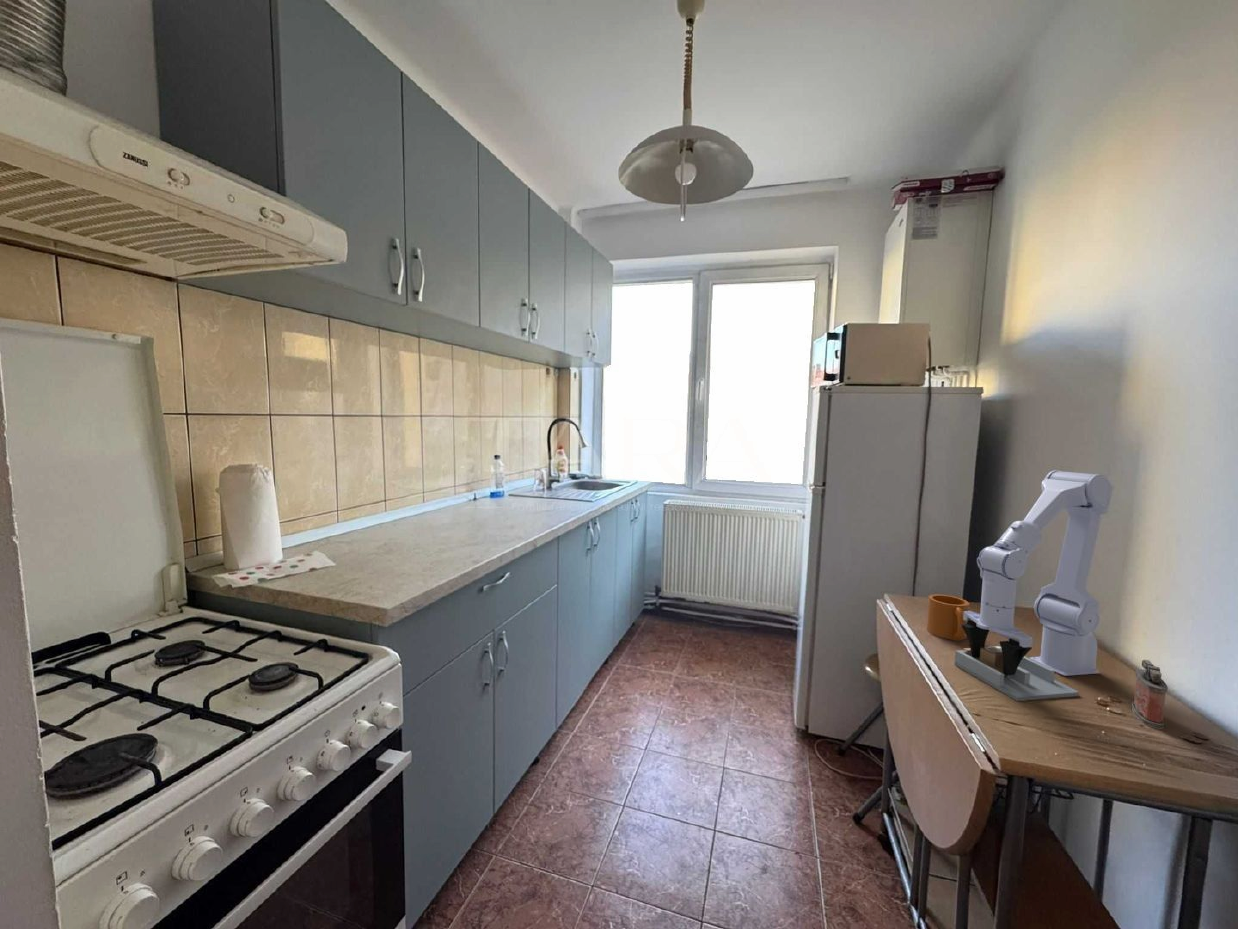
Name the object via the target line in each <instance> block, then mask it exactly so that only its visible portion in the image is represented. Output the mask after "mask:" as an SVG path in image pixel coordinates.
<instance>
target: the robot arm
mask: <svg viewBox="0 0 1238 929" xmlns="http://www.w3.org/2000/svg"><path fill="white" fill-rule="evenodd" d="M1040 488H1041V494H1040V496H1039V497H1038V499H1037V500H1036V502H1034V505H1033V506H1032V507H1031V509H1030V510H1029V511H1028V513H1027V515H1026V516H1025V517H1024V518H1023V520H1016V521H1013V522H1012V523H1011V524H1010V526H1009V527H1008V528H1007V529H1006V530H1005V531H1004V532H1003V534H1002V535H1001V536H1000V537H999V539H998V540H997V541H996V542H995V543H994V544H993V545H990V546H986V547H984V548H983V549H982V550H980V551H979V555H978V557H976V564H977V568H979V571H980V574H979V577H980V578H981V579H982V584H981V597H980V612H979V613H977V612H974V611H972V610H969V611H964V614H963V620H965V621H968V622H967V623H964V624H962V628H963V630H964V631H965V633H966V636H967V638H966V639H967V640H968V643H969V648H970V649H971V653H972V657H974V658H980V651H981V648H985V647H986V641H987V638H988V635H989V632H993V633H995V634H997V635H998V636H1000V637H1003V638H1006V639H1008V640H999V645H1000V646H999V647H1001V649H1002V653H1003V673H1004V674H1005V675H1015V672H1016V670H1017V668H1018V666H1019V664H1020V662H1021V660H1022V659H1023V657H1024V656H1025V657H1026V655H1027V654H1028V653H1029V652H1031V650H1032V648H1033V642H1034V641H1033V640H1034V638H1033V637H1032V636H1030V635H1028V634H1026V633H1024V632H1023V631H1021V629H1018V628H1017V627H1016V626H1014V618H1015V606H1016V595H1017V593H1016V592H1017V583H1018V582H1017V581H1018V578H1020V577H1021V576H1022V575H1023V574H1024V573H1025V571H1026V569H1027V564H1028V562H1029V559H1030V557H1029V556H1030V554H1031V553H1032V552H1033V550H1035V548H1036V547H1037V546H1038V545H1039V544H1040V543H1041V541H1042V540H1043V538H1044V535H1043V532H1042V530H1043V529H1044V528H1045V527H1046V526H1047V525H1048V524H1049V523H1050V522H1051V521H1052V520H1053V519H1054V518H1055V517H1056V516H1057V515H1058V514H1059V513H1060V512H1062V510H1063V509H1064V510H1065V511H1066V512H1067V513H1068V515H1069V516H1068V521H1067V526H1066V531H1065V533H1064V534H1065V535H1064V539H1063V544H1062V548H1061V553H1060V558H1059V563H1058V567H1057V571H1056V576H1055V581H1054V582H1052V583H1050V584H1047V585H1045V586H1043V587H1042V586H1041V588H1040V593H1039V594H1038V597H1037V598H1036V599H1035V601H1034V605H1033V610H1034V614H1035V616H1036V617H1037V618H1038V619H1039V623H1040V624H1041V625H1042V634H1041V635H1042V636H1041V647H1040V655H1039V656H1030V657H1029V659H1031V660H1034V661H1036V662H1038V663H1040V664H1042V665H1044V666H1046V667H1048V668H1050V669H1052V670H1054V671H1055V673H1057V674H1060V675H1062V676H1064V677H1067V676H1069V677H1070V676H1083V675H1095V674H1100V670H1097V669H1096V665H1097V664H1096V663H1097V654H1098V641H1097V638H1096V636H1095V635H1094V634H1093V632H1095V631H1096V629H1097V628H1098V626H1099V623H1100V614H1099V609H1100V608H1099V606H1100V602H1099V601H1098V599H1096V598H1095V597H1094V595H1092V594H1091V592H1089V591H1088V589H1087V586H1088V581H1089V577H1090V573H1091V568H1092V562H1093V559H1094V555H1095V550H1096V545H1097V541H1098V536H1099V533H1100V532H1099V531H1100V527H1101V522H1102V517H1103V515H1105V514H1107V513H1108V511H1109V507H1110V503H1111V499H1112V495H1113V489H1114V486H1113V484H1112V483H1111V482H1110V480H1109V478H1108V477H1107V475H1106V474H1101V473H1095V474H1094V473H1086V472H1071V471H1061V470H1057V469H1056V470H1051V471H1049V472H1048V474H1046V476H1045V477H1044V479H1043V480H1042V481H1041V486H1040Z"/></svg>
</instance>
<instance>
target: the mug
mask: <svg viewBox="0 0 1238 929" xmlns="http://www.w3.org/2000/svg"><path fill="white" fill-rule="evenodd" d="M927 602H928V603H927V615H926V616H927V617H926V618H927V619H926V631H927V632H928V633H929V634H931V635H933V636H936V637H938V638H942V639H945V638H946V639H945V640H951V641H952V640H953V641H956V642H961V641H963V640H962V639H964V640H966V639H968V638H967V636H966V633H965V631H964V630H963V628H962V624H964V623H967V622H968V621H965V620H963V614H964V611H970V603H969V601H967V600H966V599H963V598H961V597H958V596H953V595H946V594H931V595H928V601H927ZM965 638H966V639H965Z"/></svg>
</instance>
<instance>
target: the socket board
mask: <svg viewBox="0 0 1238 929" xmlns="http://www.w3.org/2000/svg"><path fill="white" fill-rule="evenodd" d="M994 647H996V648H998V649H1000V650H1002V649H1001V646H999V645H998V646H994ZM954 665H955V666H956V667H957V668H959V669H960V670H963V671H965V672H966V673H968V674H970V675H971V676H973V677H975V678H977V679H978V680H980V681H982V682H984V683H985V684H987V685H989V686H990V687H992V688H994V689H996V690H998V692H1000V693H1002V694H1004V695H1006V696H1007V697H1010V698H1011V699H1013V700H1015V701H1016V702H1022V701H1023V702H1024V701H1032V700H1033V701H1034V700H1046V699H1057V698H1069V697H1071V698H1072V697H1080V691H1078V690H1076V689H1074V688H1072V687H1070V686H1069V685H1066V684H1064V683H1062V682H1060V681H1058V680H1056V679H1055V673H1056V672H1055V671H1054V670H1052V669H1050V668H1048V667H1046V666H1044V665H1042V664H1040V663H1038V662H1036V661H1034V660H1031V659H1030V657H1028V656H1026V655H1025V656H1024V657H1023V659H1022V660H1021V662H1020V664H1019V666H1018V668H1017V670H1016V672H1015V675H1008V677H1004V674H1002V673H1001V672H999V671H997V670H995V669H993V668H991V667H989V666H988V665H986V664H984V663H982V662H980V658H974V657H972V653H971V649H970V647H965V648H963V650H961V649H959V650H955V656H954Z"/></svg>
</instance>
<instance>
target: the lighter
mask: <svg viewBox="0 0 1238 929" xmlns="http://www.w3.org/2000/svg"><path fill="white" fill-rule="evenodd" d="M1141 666H1142V668H1143V669H1138V668H1137V669H1135V678H1136V679H1135V687H1134V697H1133V698H1134V699H1133V702H1132V703H1131V709H1132V712H1133V714H1134V716H1135V717H1136V718H1137V719H1138V720H1139V721H1140V722H1141V723H1143V724H1144V725H1146V726H1148V727H1150V728H1154V729H1158V730H1162V729H1164V725H1165V723H1164V720H1163V718H1164V709H1165V700H1166V694H1167V693H1168V686H1167V684H1166V682H1165V681H1164V679H1162V677H1163V676H1162V672H1161V669H1160V667H1159V666H1157V665H1154V664H1153V663H1152V662H1151V661H1150V660H1148V659H1143V660H1141Z"/></svg>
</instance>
